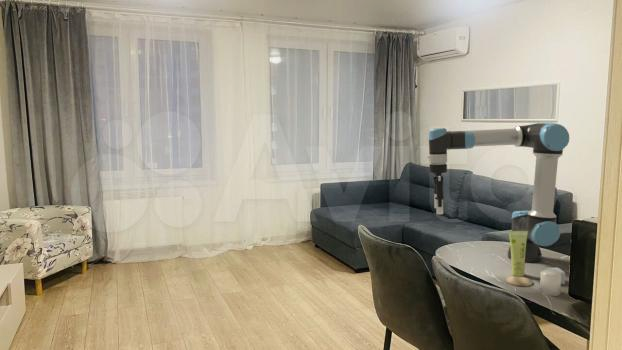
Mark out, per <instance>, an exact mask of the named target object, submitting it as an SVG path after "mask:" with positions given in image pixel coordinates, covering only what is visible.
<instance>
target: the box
mask: <svg viewBox="0 0 622 350" xmlns="http://www.w3.org/2000/svg"><path fill="white" fill-rule="evenodd" d="M542 270H554V271H558V272H560V273H561V285H565V284H566V271H563V270H562V269H561V268H559V267H543V268H542Z"/></svg>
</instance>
